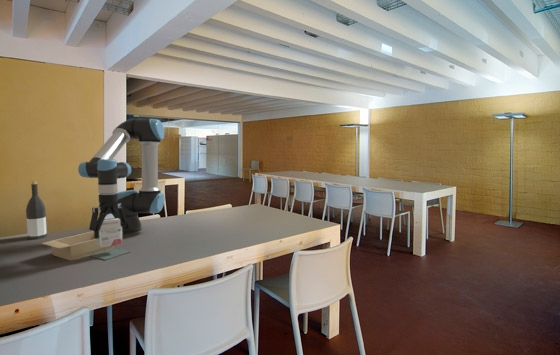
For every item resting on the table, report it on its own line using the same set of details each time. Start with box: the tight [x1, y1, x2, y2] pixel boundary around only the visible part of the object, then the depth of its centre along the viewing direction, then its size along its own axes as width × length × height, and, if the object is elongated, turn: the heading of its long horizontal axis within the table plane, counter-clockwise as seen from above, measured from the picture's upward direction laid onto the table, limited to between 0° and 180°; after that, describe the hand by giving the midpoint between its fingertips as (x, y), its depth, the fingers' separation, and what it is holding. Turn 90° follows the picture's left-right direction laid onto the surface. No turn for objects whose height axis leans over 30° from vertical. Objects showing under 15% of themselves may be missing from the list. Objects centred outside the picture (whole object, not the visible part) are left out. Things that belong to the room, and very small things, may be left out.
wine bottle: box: [25, 180, 47, 240], centre depth 169 cm, size 8×8×30 cm
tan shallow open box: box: [41, 230, 124, 261], centre depth 150 cm, size 29×15×6 cm, turn 152°
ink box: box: [99, 217, 122, 247], centre depth 145 cm, size 9×5×12 cm, turn 129°
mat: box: [89, 247, 131, 261], centre depth 146 cm, size 12×11×1 cm
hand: (109, 242), depth 145 cm, fingers closed on ink box, 9 cm apart
